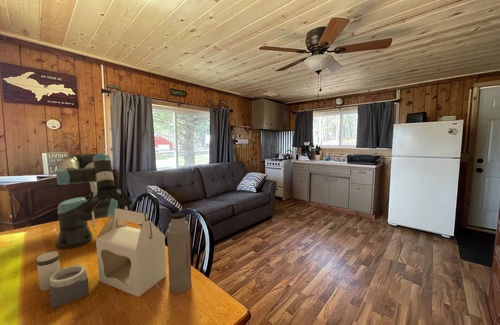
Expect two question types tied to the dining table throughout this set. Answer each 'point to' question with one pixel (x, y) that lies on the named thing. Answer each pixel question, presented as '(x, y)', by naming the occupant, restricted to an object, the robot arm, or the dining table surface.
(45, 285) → the beige rounded cylinder
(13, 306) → the dining table surface
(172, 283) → the thermos bottle
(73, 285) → the grey socket block
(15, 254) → the dining table surface
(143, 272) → the gable box
